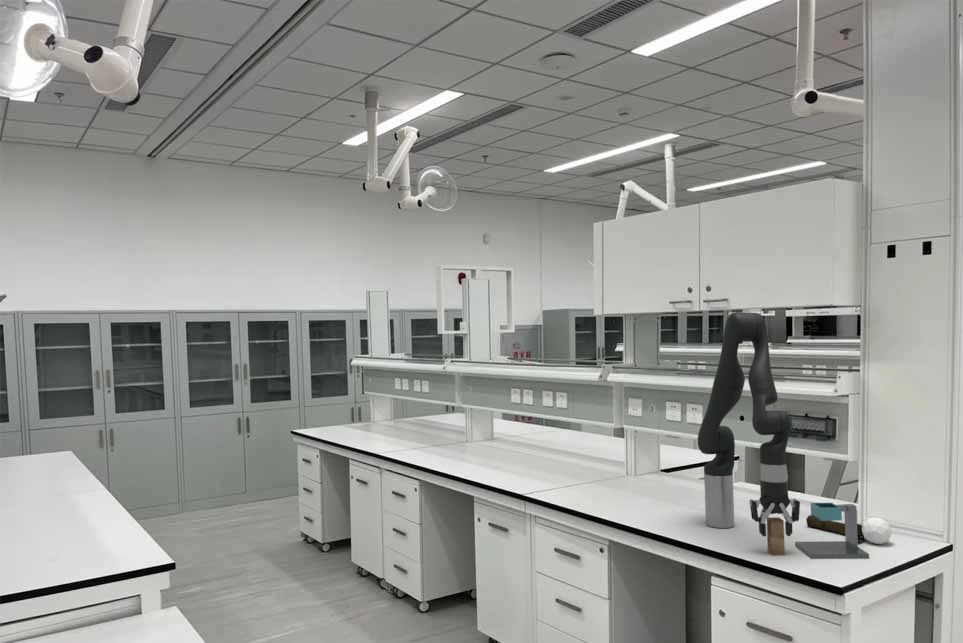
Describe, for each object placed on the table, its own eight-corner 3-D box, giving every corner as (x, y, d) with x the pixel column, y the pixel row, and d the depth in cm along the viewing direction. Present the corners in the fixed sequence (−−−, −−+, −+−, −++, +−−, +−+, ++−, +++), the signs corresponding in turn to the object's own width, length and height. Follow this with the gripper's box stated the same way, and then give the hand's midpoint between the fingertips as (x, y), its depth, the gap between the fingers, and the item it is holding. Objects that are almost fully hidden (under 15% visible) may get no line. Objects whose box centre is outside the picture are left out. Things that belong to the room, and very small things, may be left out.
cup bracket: (795, 545, 207) (793, 500, 208) (849, 545, 206) (847, 500, 206) (811, 558, 195) (809, 510, 196) (869, 558, 194) (867, 510, 194)
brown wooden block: (767, 551, 203) (766, 517, 203) (780, 551, 203) (779, 517, 203) (772, 555, 199) (770, 520, 199) (784, 555, 199) (783, 520, 199)
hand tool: (805, 527, 226) (804, 513, 226) (813, 525, 228) (812, 511, 228) (860, 542, 209) (860, 527, 210) (868, 540, 211) (868, 525, 211)
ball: (885, 553, 206) (899, 536, 202) (858, 543, 207) (871, 526, 203) (881, 535, 212) (894, 518, 208) (855, 525, 214) (867, 508, 209)
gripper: (793, 475, 205) (795, 531, 204) (744, 476, 205) (746, 532, 205) (803, 481, 197) (806, 539, 197) (752, 481, 198) (754, 539, 198)
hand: (775, 535), depth 201 cm, fingers open, 6 cm apart
